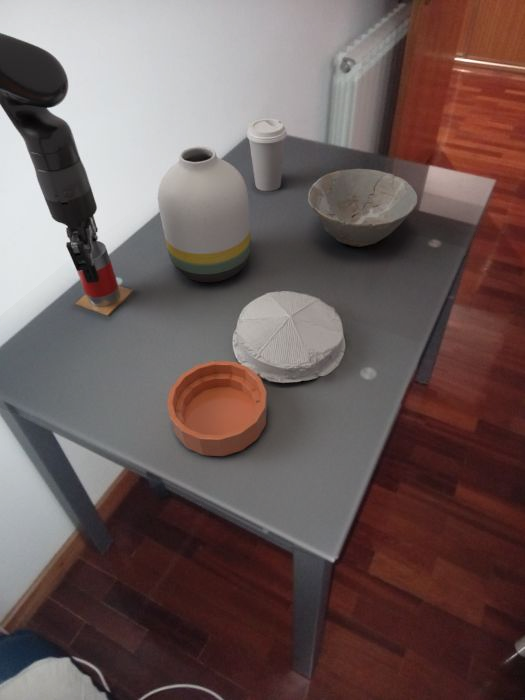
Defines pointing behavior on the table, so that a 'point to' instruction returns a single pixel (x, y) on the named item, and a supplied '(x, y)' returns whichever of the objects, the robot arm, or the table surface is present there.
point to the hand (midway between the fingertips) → (94, 269)
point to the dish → (218, 408)
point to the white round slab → (289, 337)
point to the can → (101, 279)
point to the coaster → (108, 309)
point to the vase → (205, 216)
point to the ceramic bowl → (361, 204)
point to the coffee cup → (267, 152)
